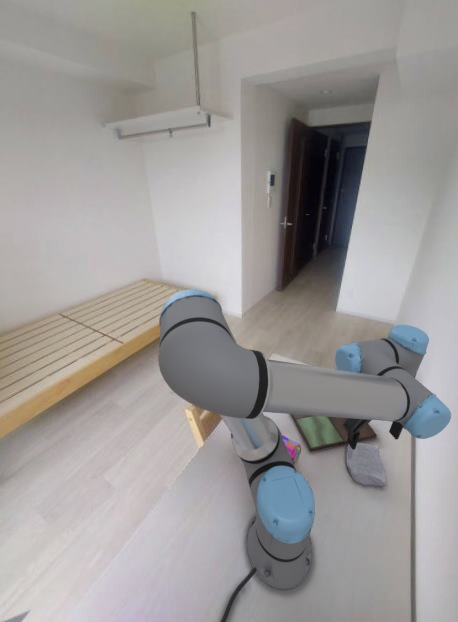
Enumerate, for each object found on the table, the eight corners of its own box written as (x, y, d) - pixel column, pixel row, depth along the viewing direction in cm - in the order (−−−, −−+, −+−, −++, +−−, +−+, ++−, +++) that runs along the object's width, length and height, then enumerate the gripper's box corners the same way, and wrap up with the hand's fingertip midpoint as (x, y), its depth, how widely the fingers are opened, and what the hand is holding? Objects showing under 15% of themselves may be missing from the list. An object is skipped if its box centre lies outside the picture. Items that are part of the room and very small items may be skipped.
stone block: (350, 486, 79) (388, 489, 76) (349, 475, 77) (388, 478, 74) (343, 450, 89) (376, 451, 87) (343, 440, 87) (377, 441, 85)
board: (310, 452, 87) (310, 448, 86) (282, 397, 107) (282, 394, 107) (375, 437, 91) (376, 434, 90) (336, 387, 112) (337, 384, 111)
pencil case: (229, 443, 90) (228, 425, 86) (244, 423, 97) (244, 406, 92) (289, 481, 79) (292, 463, 74) (302, 456, 85) (305, 438, 81)
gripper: (356, 404, 61) (340, 462, 71) (448, 386, 65) (421, 442, 75) (337, 381, 67) (325, 437, 77) (422, 366, 72) (400, 421, 82)
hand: (372, 440), depth 76 cm, fingers open, 13 cm apart
